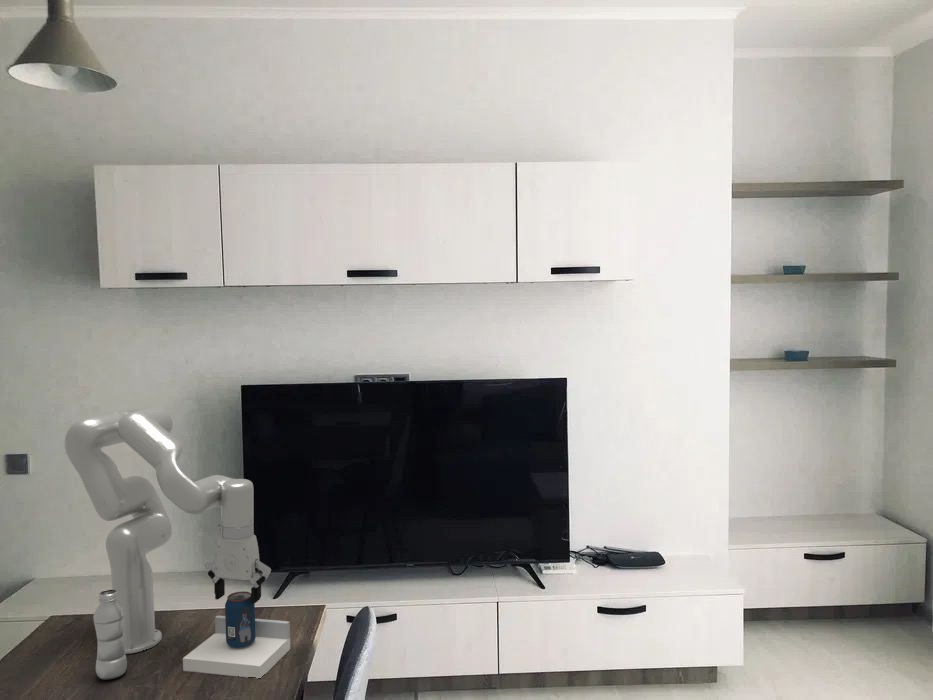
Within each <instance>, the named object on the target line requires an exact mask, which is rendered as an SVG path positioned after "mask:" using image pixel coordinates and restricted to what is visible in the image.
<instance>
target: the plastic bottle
mask: <svg viewBox="0 0 933 700" xmlns="http://www.w3.org/2000/svg"><path fill="white" fill-rule="evenodd" d="M98 598H99V599H98V602H99V603H100V604H99V605H98V606H97V607H96V609H95V611H94V613H93V618H92V619H93V624H94V625H93V626H94V629H95V634H96V640H97V641H96V643H97V650H96V651H97V652H96V661H95V672H96V676H97V677H99V679H101V680H114V679H117V678H119V677H121V676H123V675H124V674H125V672H126V670H127V667H128V660H127V654H125V652H124V645H123V623H124V610H123V608H122V606H121V605H120V604H119V603H118V602H117V601H116V600H117V599H118V596H117V590H114V589H112V588H111V589H105V590H102V591H100V592H99V597H98Z"/></svg>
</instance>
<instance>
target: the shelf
mask: <svg viewBox="0 0 933 700" xmlns="http://www.w3.org/2000/svg"><path fill="white" fill-rule="evenodd" d="M214 623H215V624H214V625H215V627H214V628H215V631H214V632H215V633H213V634H211V636H210V637H208V638H207V639H206V640H205V641H203V642H202V643H201V644H199V645H197V646H196V647H195V648H194V649H193V650H191V651H189V652H188V654H186V655H185V656H184V657H183V658H182V671H183V672H192V673H199V674H200V673H201V674H212V675H222V676H229V677H238V676H239V677H240V678H248V677H256V678H255V679H258V678H261V677H262V676H263V675H264V674H265V675H266V674H267V673H268V672H269V671H270V670H271V669H272V668H273V667H274V666H275V665H276V664H277V663H278V662H279V661H280V660H281V659H282V658H283V657H284V656H285V655H286V654H287V653H288V652H289V651H290V650H291V628H290V627H291V626H290V624H291V623H290V621H288V620H287V621H286V620H278V619H277V620H276V619H264V618H255V633H256V637H255V640H254V642H253V643H252V645H250V646H249V647H246V648H242V649H233V648H230V647H229V645H228V644H227V642H226V623H225V615H216V616H214ZM265 675H264V676H265ZM264 676H263V677H264ZM263 677H262V678H263ZM262 678H261V679H262Z"/></svg>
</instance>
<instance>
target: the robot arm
mask: <svg viewBox="0 0 933 700" xmlns="http://www.w3.org/2000/svg"><path fill="white" fill-rule="evenodd" d="M173 423H174V422H173V418H172V417H171V415H170V414H169V412H168V411H167V410H165V409H163V408H161V407H157V406H154V407H153V406H151V407H147V408H146V407H145V408H135V409H134V408H133V409H121V410H116V411H115V410H114V411H111V412H105V413H99V414H95V415H94V414H93V415H90V416H89V415H88V416H85V417H83V418H80V419H78V420H76V421H75V422H73V423H72V424H71V426H70V427H69V428H68V430H67V431H66V434H65V438H64V449H65V453H66V455H67V458H68V460H69V461H70V463H71V465H72V466H73V468H74V470H75V471H76V472H77V474H78V476H79V478H80V479H81V481H82V484H83V485H84V488H85V490H86V492H87V495H88V496H89V499H90V502H91V503H92V506H93V507H94V509H95V511H96V514H97V515H98V516H99V517H100V518H101V520H103V521H106V522H114V521H116V520H120V519H123V518H126V517H128V516H131V517H132V519H130V520H127V521H124V522H122V523H120V524H118V525H117V526H115V527H113V529H112V530H111V531H109V532H108V534H107V537H106V539H105V550H106V554H107V557H108V560H109V566H110V574H111V589H114V590H117V596H118V599H117V600H116V601H117V602H118V603H119V604H120V605H121V606H122V608H123V610H124V623H123V645H124V652H125V655H128V654H135V653H139V652H143V650H144V651H146V649H147V650H149V649H151V648H153V647H155V646H156V645H157V644H159V643H160V642H161V640H162V637H163V635H162V632H161V630H159V629H156V624H155V623H156V620H155V599H154V597H155V595H154V594H155V593H154V577H153V576H154V574H153V569H152V566H151V563H150V562H149V561H148V558H147V557H146V555H147V554H149V553H150V552H152V551H155V550H156V549H158V548H161V547H162V546H164V545H165V544H167V543H168V542H169V540H171V537H172V533H173V528H172V522H171V519H170V517H169V515H168V513H167V510H166V509H165V507H164V505H163V503H162V500H161V498H160V496H159V493H158V492H157V490H156V488H155V486H154V485H153V484H152V483H151V482H150V481H149V480H148V479H147V478H145V477H143V476H141V475H132V476H128V477H125V478H123V476H122V474H121V473H120V471H119V469H118V467H117V464H116V463H115V461H114V460H113V459H112V458H111V457H110V456H109V455H108V454H106V453H105V452H104V451H102V448H105V447H109V446H113V445H117V444H122V443H125V444H127V446H128V447H129V448H130V449H132V451H134V452H135V453H137V454H138V455H139V456H140V457H141V458H142V459H143V460H145V461H146V462H147V463H148V464H149V465H150V466H151V467H152V468H154V470H155V474H156V475H155V476H156V477H155V478H156V480H157V483H158V486H159V488H160V490H161V492H162V493H163V495H164V496H165V497H166V498H167V499H168V500H169V501H170V502H171V503H173V504H174V505H175V506H176V507H177V508H179V509H180V510H181V511H183V512H184V513H187V514H189V515H198V514H199V515H200V514H202V513H205V512H206V511H209V510H211V509H215V508H216V507H217V508H218V507H220V509H221V510H220V517H221V518H220V520H221V521H220V524H217V526H216V530H217V531H220V535H218V537H217V541H216V545H215V551H214V558H213V559H211V560H208V561H207V562H206V563H204V567H205V570H206V572H207V575H208V576H209V578H210V579H211V582H212V583H213V584H214V590H213V591H214V592H213V593H214V596H215V598H214V599H215V600H216V601H218V600H219V599H221V598H222V597H224V596H225V595H226V591H225V590H226V589H225V588H226V587H225V586H226V585H225V584H226V583H225V580H234V581H243V582H245V581H249V582H250V584H251V585H252V587H251V588H250V593H251V603H252V604H255V605H256V603H257V602H259V601H260V600H261V597H262V584H264V583H265V581H266V580H267V579H268V578H269V576H270V574H271V571H272V569H271V567H270V566H268V565H267V564H265V563H264V562H262V561H260V553H259V552H260V551H259V545H258V544H259V543H258V539H257V536H256V535H255V533H254V531H255V529H254V526H255V525H254V503H255V502H254V494H255V493H254V492H255V491H254V484H253V482H252V481H251V480H249V479H246V478H233V477H228V476H226V475H223V474H222V475H221V474H213V475H209V476H208V477H204V478H201V479H199V480H196V481H193V480H192V479H190V478H189V477H188V476H187V475H186V474H185V473H183V472H182V471H181V469H180V467H179V465H178V463H177V462H178V461H179V459H180V457H181V456H182V454H183V451H184V447H183V444H182V442H180V441H179V439H177V438H176V437H175V436H173V434H171V431H172V429H173ZM260 572H262V574H261V575H260V574H259V573H260Z"/></svg>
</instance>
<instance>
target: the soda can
mask: <svg viewBox="0 0 933 700" xmlns="http://www.w3.org/2000/svg"><path fill="white" fill-rule="evenodd" d="M255 605H256V603H255V604H252V603H251V591H250V592H249V591H243V590H242V591H236V592H233V593H230V594H229V595H227V598H226V601H225V603H224V614H225V615H224V616H225V623H226V642H227V644H228V645H229V647H230V648H233V649H242V648H246V647H249V646H250V645H252V643H253V642H254V640H255V637H256V633H255V619H256V609H255V608H256V606H255Z"/></svg>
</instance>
